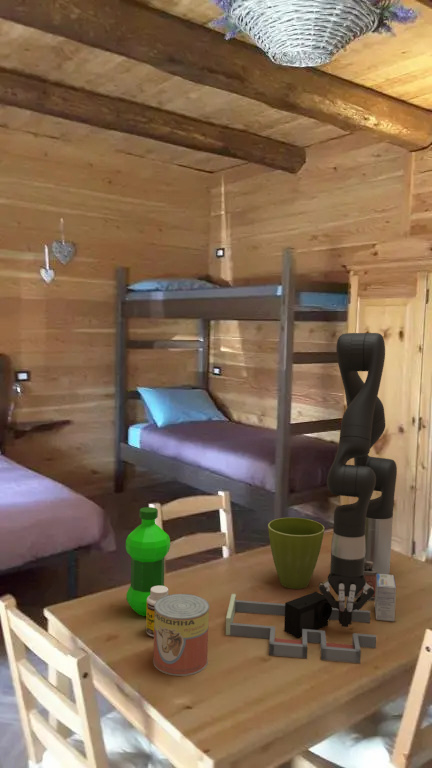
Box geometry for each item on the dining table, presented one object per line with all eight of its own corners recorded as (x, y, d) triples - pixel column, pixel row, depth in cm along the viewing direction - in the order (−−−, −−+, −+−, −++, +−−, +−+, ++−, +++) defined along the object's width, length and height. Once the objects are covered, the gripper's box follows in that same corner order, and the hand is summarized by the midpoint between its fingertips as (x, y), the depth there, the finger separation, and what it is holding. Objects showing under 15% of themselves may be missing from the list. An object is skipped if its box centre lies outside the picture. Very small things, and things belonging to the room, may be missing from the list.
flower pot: (293, 600, 165) (296, 539, 164) (254, 581, 177) (256, 523, 175) (333, 586, 175) (336, 528, 173) (293, 568, 186) (295, 514, 184)
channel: (231, 609, 159) (231, 593, 159) (369, 620, 155) (370, 604, 155) (221, 650, 139) (222, 632, 139) (379, 665, 136) (380, 646, 135)
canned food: (143, 667, 132) (144, 610, 131) (169, 642, 142) (170, 589, 141) (193, 681, 128) (194, 622, 126) (216, 654, 138) (218, 600, 137)
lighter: (376, 596, 169) (378, 559, 168) (375, 602, 166) (377, 564, 165) (344, 591, 172) (346, 554, 171) (343, 596, 168) (345, 559, 167)
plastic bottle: (140, 598, 164) (142, 501, 161) (176, 608, 159) (178, 508, 156) (116, 613, 155) (117, 511, 153) (153, 624, 150) (155, 519, 148)
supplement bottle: (142, 636, 145) (142, 591, 144) (151, 624, 150) (152, 582, 149) (165, 640, 143) (166, 595, 142) (174, 629, 149) (175, 585, 147)
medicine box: (394, 622, 155) (396, 587, 154) (375, 620, 156) (377, 585, 155) (392, 608, 163) (394, 574, 162) (374, 606, 164) (375, 572, 163)
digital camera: (301, 641, 145) (302, 610, 144) (283, 631, 149) (284, 602, 148) (332, 628, 151) (333, 599, 150) (314, 619, 155) (315, 590, 155)
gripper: (375, 548, 150) (372, 620, 152) (317, 544, 152) (314, 615, 154) (380, 560, 143) (376, 635, 145) (319, 556, 144) (316, 630, 146)
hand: (344, 625), depth 149 cm, fingers closed
